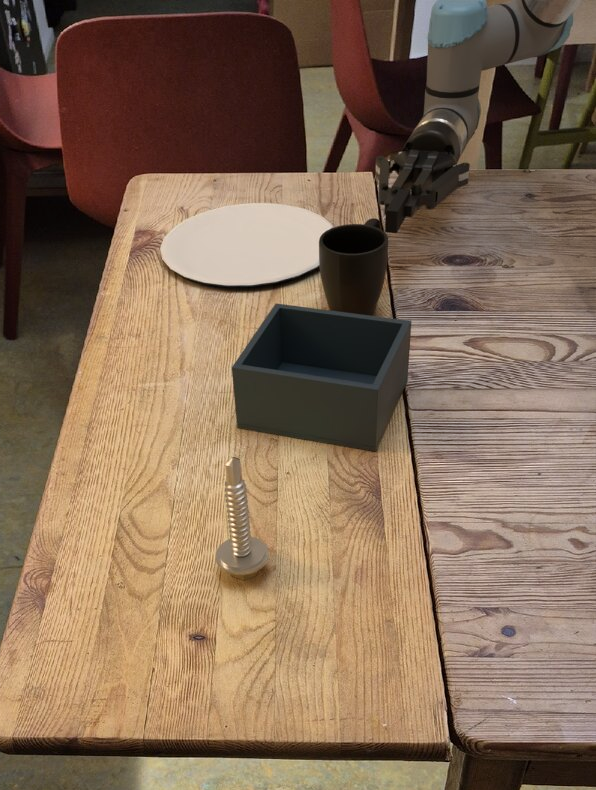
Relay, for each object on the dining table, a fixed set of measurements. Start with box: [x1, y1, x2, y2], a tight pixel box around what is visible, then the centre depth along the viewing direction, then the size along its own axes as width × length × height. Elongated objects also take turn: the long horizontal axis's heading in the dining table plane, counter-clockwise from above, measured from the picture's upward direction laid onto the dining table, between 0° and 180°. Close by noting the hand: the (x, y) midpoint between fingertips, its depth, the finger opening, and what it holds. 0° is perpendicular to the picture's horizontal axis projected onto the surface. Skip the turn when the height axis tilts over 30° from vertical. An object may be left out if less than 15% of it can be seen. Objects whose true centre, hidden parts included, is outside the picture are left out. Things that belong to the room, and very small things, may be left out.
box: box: [231, 303, 412, 452], centre depth 100 cm, size 14×16×8 cm
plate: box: [159, 202, 335, 288], centre depth 130 cm, size 25×25×1 cm
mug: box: [318, 217, 389, 316], centre depth 114 cm, size 8×12×10 cm
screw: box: [215, 456, 270, 581], centre depth 81 cm, size 13×5×5 cm
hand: (391, 221), depth 114 cm, fingers closed
